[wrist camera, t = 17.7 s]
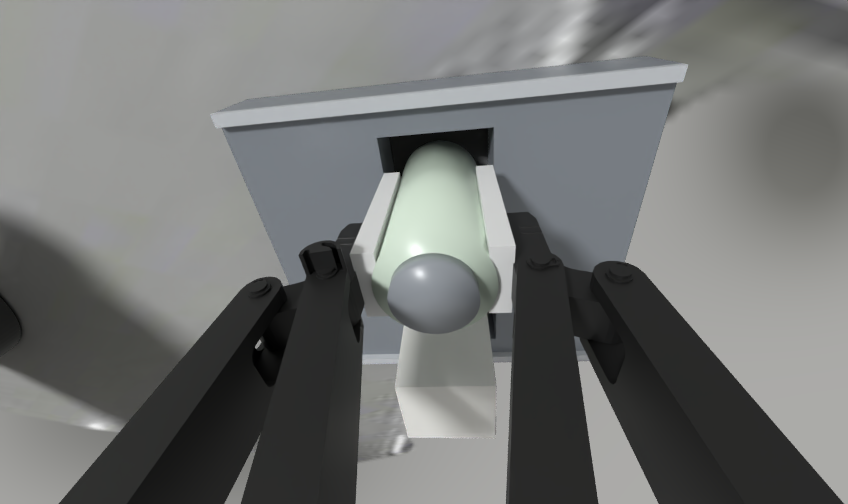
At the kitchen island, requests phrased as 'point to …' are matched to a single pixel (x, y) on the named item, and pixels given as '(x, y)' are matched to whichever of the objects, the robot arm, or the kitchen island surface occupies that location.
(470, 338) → the block
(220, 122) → the grey socket board
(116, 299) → the kitchen island surface
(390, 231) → the peg
